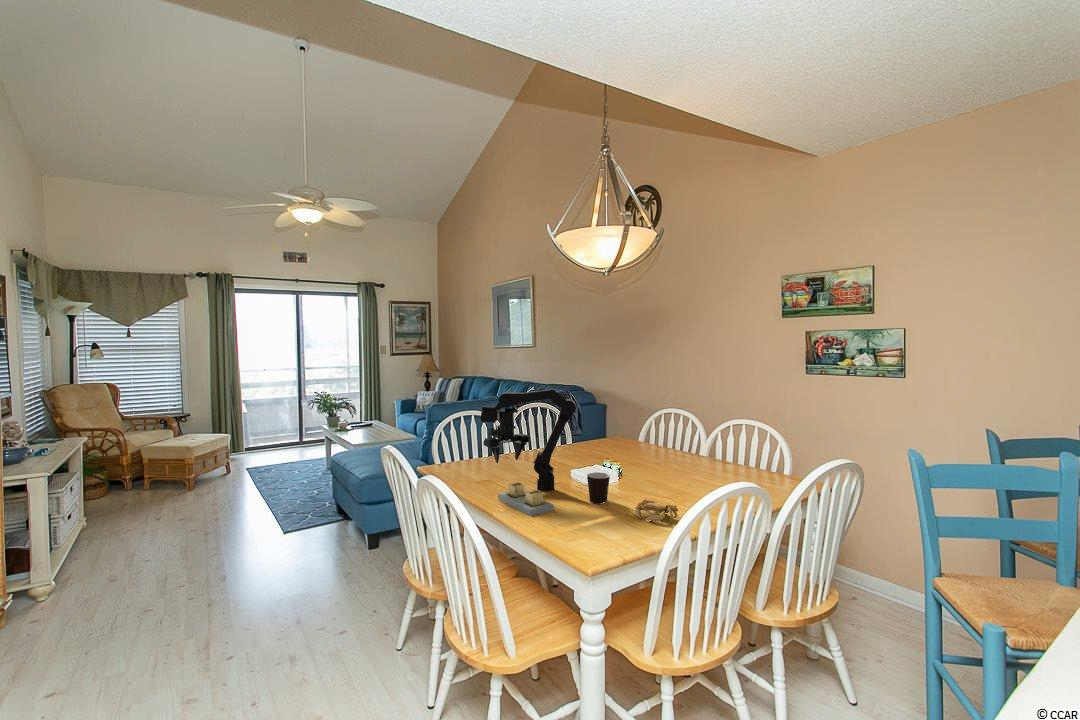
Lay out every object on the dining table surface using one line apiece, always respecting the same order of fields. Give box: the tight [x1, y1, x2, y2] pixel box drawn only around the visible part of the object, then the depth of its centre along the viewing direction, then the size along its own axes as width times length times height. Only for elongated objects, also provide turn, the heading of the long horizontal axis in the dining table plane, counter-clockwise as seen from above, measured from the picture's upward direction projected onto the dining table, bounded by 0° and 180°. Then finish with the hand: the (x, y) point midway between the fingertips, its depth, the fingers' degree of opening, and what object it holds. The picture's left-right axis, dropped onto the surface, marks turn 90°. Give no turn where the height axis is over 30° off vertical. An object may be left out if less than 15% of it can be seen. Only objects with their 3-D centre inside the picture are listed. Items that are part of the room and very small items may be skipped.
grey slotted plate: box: [497, 491, 555, 517], centre depth 185 cm, size 22×10×3 cm, turn 35°
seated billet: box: [525, 489, 544, 507], centre depth 180 cm, size 4×4×6 cm
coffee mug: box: [586, 471, 611, 504], centre depth 190 cm, size 12×9×10 cm
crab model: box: [635, 499, 679, 522], centre depth 174 cm, size 16×13×6 cm
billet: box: [507, 481, 526, 498], centre depth 190 cm, size 4×4×6 cm
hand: (506, 461), depth 205 cm, fingers open, 9 cm apart
